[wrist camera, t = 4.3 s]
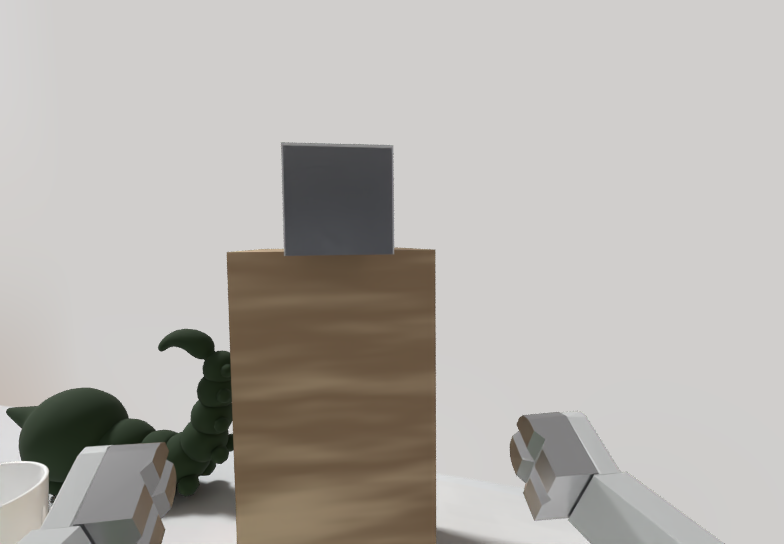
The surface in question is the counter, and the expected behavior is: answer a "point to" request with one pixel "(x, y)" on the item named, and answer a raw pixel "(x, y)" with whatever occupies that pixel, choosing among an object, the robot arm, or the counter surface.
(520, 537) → the counter surface
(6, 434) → the counter surface
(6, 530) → the white cup
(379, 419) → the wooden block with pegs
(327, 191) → the bar
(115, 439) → the toy figurine
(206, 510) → the counter surface
